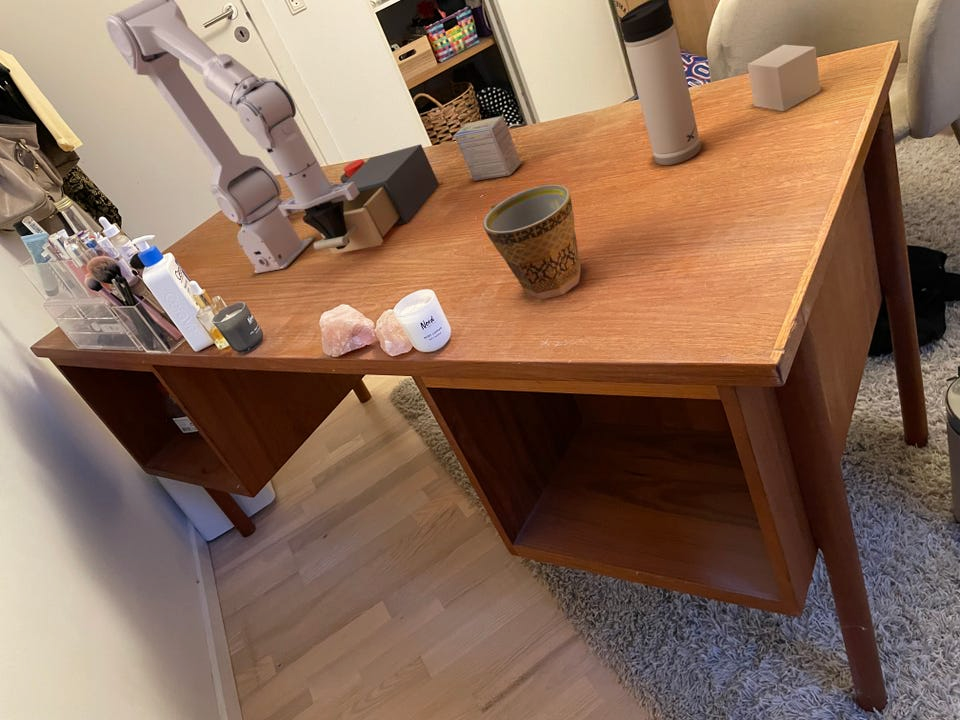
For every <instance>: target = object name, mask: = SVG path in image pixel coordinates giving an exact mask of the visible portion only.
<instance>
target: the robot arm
mask: <svg viewBox="0 0 960 720" xmlns="http://www.w3.org/2000/svg"><path fill="white" fill-rule="evenodd" d="M105 19H106V25H105V26H106V30H107V33H108V35H109V39H110V40H111V42H112V44H113V45H114V47H115V48H116V49H117V51H118V52H119V54H121V56H122V58H123V59H124V60H125V62H126V63H127V64H128V66H129V67H130V68H131V69H132V70H133V71H134V73H135V74H136V75H137V76H139V75H140V76H147V77H148V78H149V79H150V81H151V82H152V83H153V85H154V86H155V88H157V90H158V91H159V93H160V94H161V96H162V97H163V98H164V100H165V101H166V103H167V104H168V105H169V107H170V108H171V110H172V111H173V112H174V115H176V116H177V118H178V119H179V121H180V122H181V124H182V125H183V126H184V128H185V129H186V130H187V132H188V134H189V135H190V136H191V138H192V139H193V141H194V142H195V144H196V145H197V146H198V147H199V149H200V150H201V151H202V153H203V154H204V156H205V157H206V158H207V160H208V161H209V162H210V164H211V165H212V166H213V172H212V177H211V180H210V183H209V190H210V192H211V193H212V195H213V196H214V199H215V201H216V203H217V206H218V207H219V209H220V211H221V212H222V213H223V215H224V216H225V217H227V219H229V220H230V221H232V222H233V223H236V224H237V223H239V224H240V223H243V224H242V227H240V230H239V231H238V233H237V236H236V237H237V242H238V244H239V246H240V248H241V249H242V251H243V252H244V254H245V256H246V257H247V259H248V260H249V261H250V263H251V264H252V266H253V267H254V270H253V272H254V274H259V273H260V274H261V273H265V272H271V271H276V270H283V269H286V268H288V267H289V265H290V264H291V263H292V262H293V261H294V260H295V259H296V258H297V257H298V256H299V255H300V254H301V253H302V252H303V251H304V250H305V249H306V248H307V247H308V246H309V245H310V244H311V243H312V242H313V241H314V239H313V238H312V237H309V238H304V239H301V237H300V235H299V233H298V232H297V230H296V229H295V227H294V225H293V223H292V222H291V221H290V219H289V217H288V216H290V215H291V214H295V213H298V212H302V211H305V213H304V214H305V215H304V216H302V219H301V220H302V221H303V223H305V224H307V225H309V226H310V227H311V228H313V229H314V230H316V231H318V232H319V233H320V235H321V234H323V235H324V236H325V237H326V238H327V239H332V238H337V237H342V236H345V235H346V234H347V230H346V226H345V221H344V200H347V199H348V200H349V201H350V200H353V199H354V198H355V197H356V196H357V195H358V194H359V191H358V189H357V187H356V185H355V183H354V182H351V183H343V184H342V183H334V182H333V181H332V180H329V178H328V176H327V175H326V174H325V172H324V170H323V168H322V167H321V164H320V163H319V161H318V159H317V157H316V155H315V154H314V152H313V150H312V149H311V146H310V144H309V143H308V141H307V139H306V138H305V136H304V133H303V132H302V130H301V128H300V126H299V125H298V123H297V121H296V119H295V117H296V114H297V109H296V108H297V107H296V104H295V101H294V99H293V97H292V95H291V94H290V92H289V91H288V90H287V88H286V87H285V86H284V85H282V83H281V82H279V81H278V80H276V79H275V78H270V79H268V78H266V77H261V78H259V77H258V76H257V75H256V74H255V73H254V72H252V71H251V70H250V69H248V68H247V67H246V66H245V65H243V64H242V63H240V61H238V60H237V59H236V58H234V57H233V56H232V55H230V54H228V53H220V54H218V53H216V52H215V51H214V50H213V49H212V48H211V47H210V46H209V45H208V44H207V43H206V42H205V41H204V40H203V39H202V38H201V37H199V35H198V34H196V33H195V32H194V31H193V30H192V29H191V28H190V27H189V26H188V25H189V24H188V23H187V22H188V21H187V20H186V17H185V16H184V14H183V12H182V10H181V8H180V6H179V4H177V2H176V1H175V0H140V1H139V2H137V3H134V4H132V5H129V6H128V7H126V8H124V9H121V10H119V11H117V12H115V13H110V14H108V15H107V16H106V18H105ZM180 61H181V62H182V63H184V64H185V65H187V66H188V67H190V68H192V69H193V70H195V71H196V72H198V73H199V74H200V75H202V80H203V84H204V86H205V87H206V89H207V90H209V91H210V92H211V93H213V94H214V95H215V96H216V97H217V98H219V99H220V100H221V101H222V102H223V103H225V104H226V105H227V106H229V107H230V108H231V109H232V110H233V111H234V112H236V113H237V116H238V118H239V121H240V123H241V124H242V126H243V127H244V129H245V130H246V131H247V132H248V133H249V134H250V135H251V136H252V137H253V138H254V140H255V141H256V142H257V145H258V146H259V147H260V148H261V149H262V150H266V152H267V154H268V155H269V158H270V159H271V160H272V163H273V164H274V165H275V167H276V169H277V171H278V172H279V175H280V176H281V178H282V179H283V181H284V182H285V184H286V186H287V188H288V189H289V191H290V192H291V194H292V196H293V197H290V198H286V199H284V200H282V198H281V195H282V187H281V183H280V181H279V180H278V177H277V176H276V175H275V174H274V173H273V171H271V170H270V169H269V168H268V167H267V166H266V165H265V163H264V162H263V160H261V159H260V158H259V157H257V156H255V155H254V156H253V155H246V154H241V152H240V151H239V150H238V148H237V147H236V145H235V144H234V143H233V141H232V140H231V138H230V136H229V135H228V134H227V133H226V130H225V129H224V128H223V126H222V125H221V124H220V122H219V120H218V119H217V118H216V117H215V115H214V113H213V111H211V109H210V108H209V106H208V105H207V103H206V102H205V100H204V99H203V97H202V96H201V95H200V94H199V93H200V92H198V90H197V89H196V87H195V85H193V83H192V82H191V80H190V79H189V77H188V75H186V73H185V71H184V70H183V68H182V67H181V65H180ZM245 171H250V172H248V173H247V174H245V175H244V176H242V177H241V178H239V179H238V180H236V181H235V182H233V183H232V184H230V185H229V186H228V183H229V182H230V181H231V180H233V179H234V178H236V177H237V176H239V175H241V174H242V173H244V172H245ZM280 198H281V199H280ZM281 201H282V203H281V204H279V203H280V202H281ZM349 242H350V241H349V239H348V243H349ZM347 245H348V244H347ZM347 245H345V246H339V247H336V248H337V249H343V248H345V247H346V246H347Z"/></svg>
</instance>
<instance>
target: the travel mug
mask: <svg viewBox="0 0 960 720" xmlns="http://www.w3.org/2000/svg"><path fill="white" fill-rule="evenodd" d="M672 15H673V13H672V9H671V6H670V2H669V0H646V1H645V2H643V3H641V4H638V5H637V6H636V7H634V8H632V9H630V10H629V11H628V12H627V13H626V14H624V15H623V16H622V17H621V19H620V23H619V24H620V29H621V32H622V34H623V36H622V37H623V42H624V46H625V49H626V53H627V58H628V62H629V66H630V70H631V74H632V78H633V81H634V85H635V89H636V92H637V96H638V100H639V104H640V108H641V112H642V115H643V119H644V124H645V127H646V131H647V135H648V139H649V144H650V147H651V151H652V154H653V159H654V162H655V163H656V164H658V165H661V166H673V165H677V164H681V163H683V162H687V161H689V160H691V159H692V158H693V157H695V156H696V155H697V154H698V153H699V152H700V151H701V149H702V145H701V139H700V137H699V131H698V125H697V121H696V116H695V112H694V108H693V103H692V99H691V98H692V97H691V94H690V88H689V85H688V79H687V75H686V70H685V66H684V62H683V55H682V52H681V46H680V43H679V37H678V34H677V29H676V28H675V27H676V24H675V22H674V17H673V16H672Z"/></svg>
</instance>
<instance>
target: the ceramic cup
mask: <svg viewBox="0 0 960 720" xmlns="http://www.w3.org/2000/svg"><path fill="white" fill-rule="evenodd" d="M482 225H483V229H484V231H485V233H486V235H487V237H488V238H489V240H490V241H491V243H492V244H493V246H494V248H495V249H496V250H497V252H498V253H499V255H500V256H501V257H502V258H503V260H504V261H505V263H506V265H507V266H508V268H509V269H510V271H511V272H512V274H513V275H514V276H515V277H516V280H517V281H518V282H519V284H520V286H521V288H522V289H523V290H524V291H525V293H526V294H528V295H529V296H532V297H534V298H536V299H538V300H545V299H549V298H555V297H560V296H562V295H564V294H566V293H567V292H569V291H571V289H573V288H574V287H575V286H577V285H578V284H579V282H580V278H581V270H582V269H581V261H580V255H579V249H578V242H577V235H576V231H575V230H576V228H575V215H574V209H573V202H572V198H571V193H570V191H569V189H568V188H566V187H565V186H563V185H559V184H546V185H539V186H534V187H532V188H531V187H530V188H528V189H525V190H522V191H520V192H517V193H515V194H512V195H511V196H509V197H507V198H506V199H504V200H502V201H500V202H499V203H495V204H493V205H492V206H491V207H490V211H489V212H488V213H487V214H486V216H485V217H484V219H483V223H482Z"/></svg>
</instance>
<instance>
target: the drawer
mask: <svg viewBox="0 0 960 720" xmlns="http://www.w3.org/2000/svg"><path fill="white" fill-rule="evenodd" d="M399 218H400V214H399V212H398V210H397V208H396V206H395V204H394V202H393V200H392V198H391V196H390V194H389V193H388V191H387V189H386V187H385V185H384V186H379V187H375V188H371V189H367V190H363V191H359V194H358V195H357V196H356V197H355V198H354V199H353V200H350V201H349V200H348V199H347V200H344V221H345V226H346V230H347V234H346V235H345V236H342V237H337V238H332V239H327V238H326V237H325V236H324V235H323V234H321V233H320V235H321V240H318V241H314V243H313V249H314V250H315V251H316V252H317V251H322V250H329V251H330V252H331V254H332V255H335V254H340V253H344V252H345V253H346V252H351V251H356V250H362V249H367V248H373V247H377V246H381V245H382V244H383V243H384V239H383V237H385V235H386V234H387V233H388V232H389V231H390V230H391V228H392V227H394V226H393V225H394V223H395V222H396V221H397V220H398V219H399ZM348 239H349V241H350V242H349V243H348ZM347 244H348V245H347ZM345 245H347V246H346V247H345V248H343V249H337V248H336V247H339V246H345Z"/></svg>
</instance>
